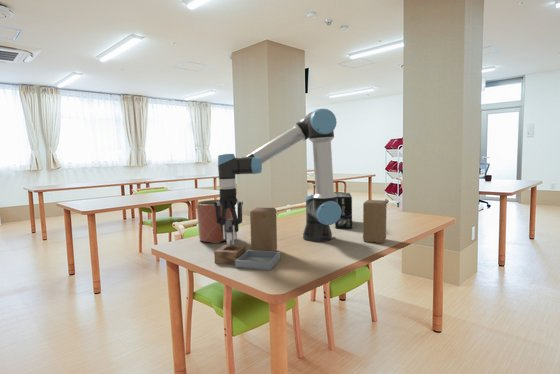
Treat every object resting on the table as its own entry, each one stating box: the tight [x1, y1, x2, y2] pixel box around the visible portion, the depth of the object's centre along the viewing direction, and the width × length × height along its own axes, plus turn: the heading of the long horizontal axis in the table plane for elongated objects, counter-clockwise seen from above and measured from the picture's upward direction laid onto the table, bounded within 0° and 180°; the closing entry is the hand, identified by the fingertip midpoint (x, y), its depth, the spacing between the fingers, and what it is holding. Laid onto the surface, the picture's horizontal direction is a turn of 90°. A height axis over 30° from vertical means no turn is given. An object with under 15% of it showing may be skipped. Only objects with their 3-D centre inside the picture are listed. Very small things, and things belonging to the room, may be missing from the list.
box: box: [334, 192, 353, 229], centre depth 205 cm, size 23×10×19 cm, turn 171°
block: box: [362, 199, 387, 244], centre depth 167 cm, size 10×10×20 cm
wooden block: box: [249, 207, 278, 252], centre depth 150 cm, size 10×10×20 cm
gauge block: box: [213, 244, 247, 265], centre depth 141 cm, size 10×10×5 cm
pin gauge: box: [225, 219, 235, 245], centre depth 152 cm, size 4×4×14 cm
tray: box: [234, 249, 281, 271], centre depth 136 cm, size 15×15×3 cm
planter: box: [196, 199, 233, 244], centre depth 175 cm, size 19×19×20 cm
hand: (230, 238), depth 153 cm, fingers closed on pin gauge, 4 cm apart
